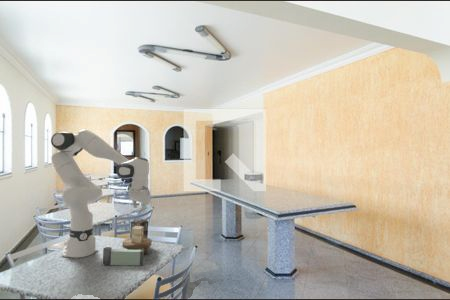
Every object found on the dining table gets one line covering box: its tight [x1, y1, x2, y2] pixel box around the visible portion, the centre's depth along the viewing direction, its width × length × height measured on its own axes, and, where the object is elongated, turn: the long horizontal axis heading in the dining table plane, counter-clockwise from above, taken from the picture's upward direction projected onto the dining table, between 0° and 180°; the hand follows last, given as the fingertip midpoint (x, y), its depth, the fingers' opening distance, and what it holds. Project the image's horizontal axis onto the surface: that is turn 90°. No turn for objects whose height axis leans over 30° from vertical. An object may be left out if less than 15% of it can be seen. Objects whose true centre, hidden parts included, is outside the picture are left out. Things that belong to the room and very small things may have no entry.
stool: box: [122, 237, 153, 255], centre depth 160 cm, size 16×16×8 cm
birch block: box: [131, 226, 144, 243], centre depth 160 cm, size 5×5×8 cm
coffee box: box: [129, 218, 149, 238], centre depth 175 cm, size 9×6×16 cm
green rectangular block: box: [102, 246, 145, 266], centre depth 147 cm, size 20×4×8 cm, turn 94°
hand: (138, 209), depth 161 cm, fingers open, 8 cm apart
